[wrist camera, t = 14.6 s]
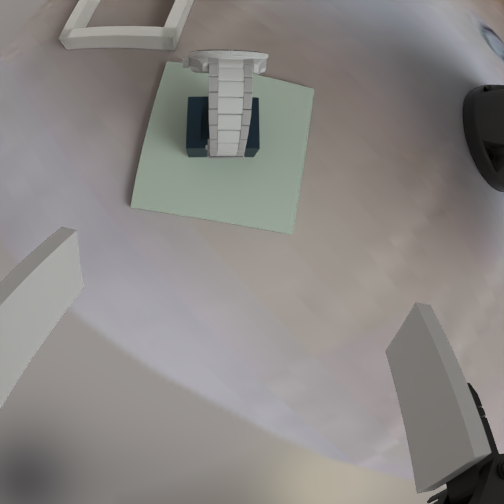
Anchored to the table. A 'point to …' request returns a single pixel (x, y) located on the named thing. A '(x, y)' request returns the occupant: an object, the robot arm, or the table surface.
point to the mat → (225, 170)
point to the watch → (224, 104)
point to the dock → (123, 30)
